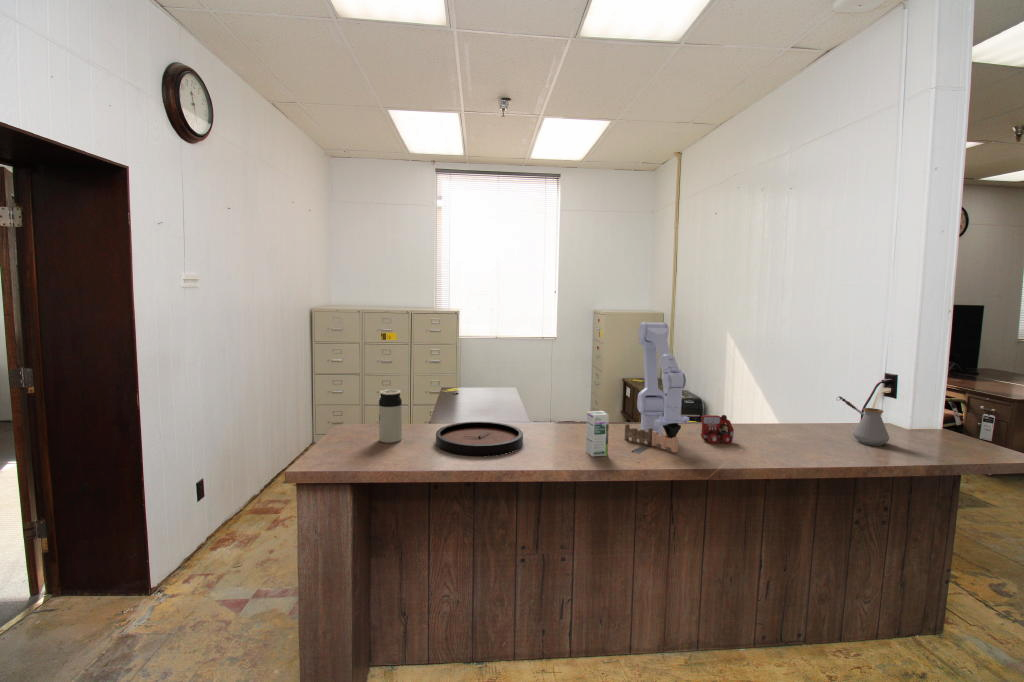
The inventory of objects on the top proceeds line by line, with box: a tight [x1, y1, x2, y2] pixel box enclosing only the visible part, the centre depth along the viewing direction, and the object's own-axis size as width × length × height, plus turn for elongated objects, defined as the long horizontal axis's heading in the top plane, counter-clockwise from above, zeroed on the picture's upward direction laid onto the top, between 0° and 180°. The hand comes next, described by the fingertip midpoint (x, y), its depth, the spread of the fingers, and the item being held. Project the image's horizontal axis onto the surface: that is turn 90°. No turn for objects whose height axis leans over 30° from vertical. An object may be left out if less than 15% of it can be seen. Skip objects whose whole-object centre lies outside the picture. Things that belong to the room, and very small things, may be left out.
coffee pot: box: [836, 396, 890, 447], centre depth 199 cm, size 21×12×15 cm, turn 14°
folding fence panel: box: [652, 431, 679, 454], centre depth 179 cm, size 10×1×5 cm, turn 35°
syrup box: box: [585, 410, 610, 458], centre depth 174 cm, size 6×6×14 cm
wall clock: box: [435, 421, 524, 458], centre depth 184 cm, size 31×4×31 cm
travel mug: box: [378, 389, 403, 444], centre depth 184 cm, size 8×8×18 cm
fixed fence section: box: [624, 423, 653, 446], centre depth 187 cm, size 2×11×6 cm, turn 51°
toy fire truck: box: [700, 414, 735, 445], centre depth 191 cm, size 7×12×10 cm, turn 94°
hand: (670, 444), depth 179 cm, fingers closed
